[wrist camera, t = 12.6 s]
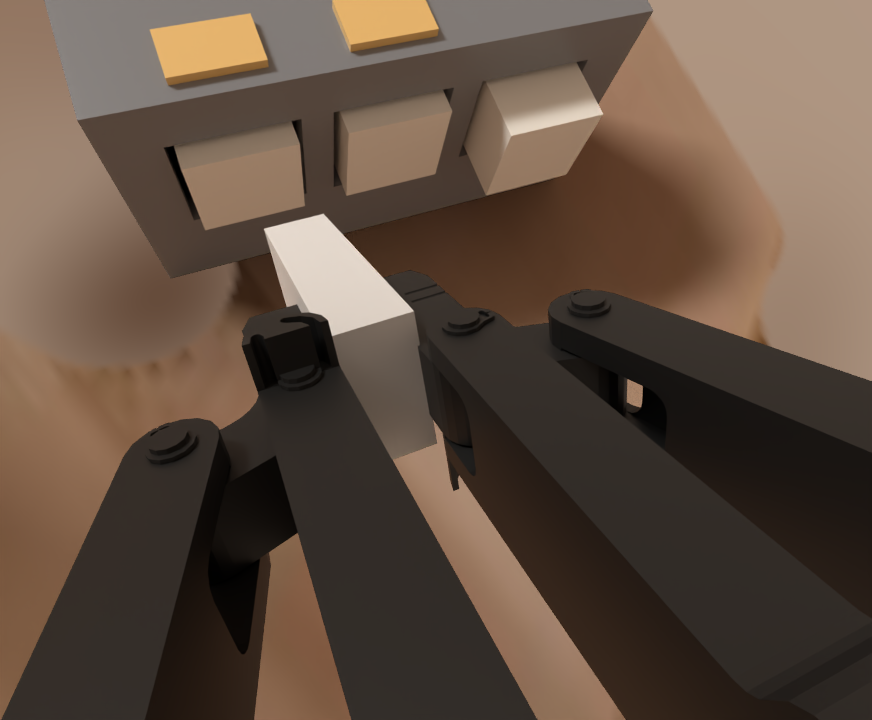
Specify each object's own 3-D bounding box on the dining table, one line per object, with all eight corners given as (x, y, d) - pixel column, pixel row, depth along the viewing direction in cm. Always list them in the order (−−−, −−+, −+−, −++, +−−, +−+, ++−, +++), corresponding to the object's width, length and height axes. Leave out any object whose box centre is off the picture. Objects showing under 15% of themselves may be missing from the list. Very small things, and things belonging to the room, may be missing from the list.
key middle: (322, 134, 34) (321, 63, 29) (410, 116, 35) (422, 45, 30) (346, 195, 33) (348, 133, 28) (435, 173, 34) (452, 110, 29)
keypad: (137, 165, 38) (28, -51, 24) (510, 86, 44) (587, -119, 31) (170, 278, 36) (73, 113, 23) (554, 178, 43) (657, 3, 29)
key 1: (184, 164, 32) (157, 94, 27) (282, 143, 33) (273, 72, 28) (205, 230, 31) (181, 169, 26) (304, 205, 32) (299, 144, 27)
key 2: (459, 136, 35) (480, 69, 30) (538, 118, 37) (570, 51, 32) (485, 195, 34) (511, 135, 29) (566, 174, 36) (603, 114, 31)
